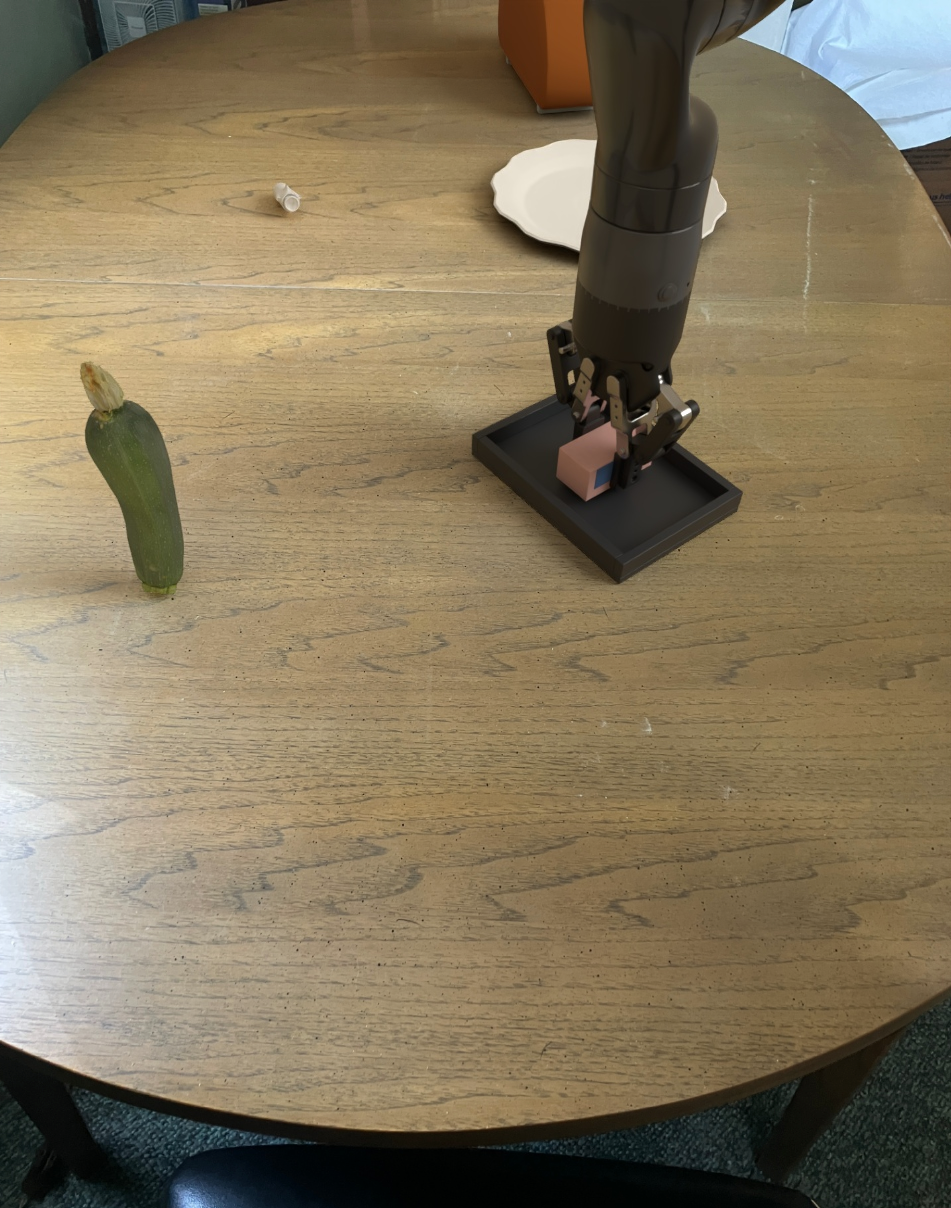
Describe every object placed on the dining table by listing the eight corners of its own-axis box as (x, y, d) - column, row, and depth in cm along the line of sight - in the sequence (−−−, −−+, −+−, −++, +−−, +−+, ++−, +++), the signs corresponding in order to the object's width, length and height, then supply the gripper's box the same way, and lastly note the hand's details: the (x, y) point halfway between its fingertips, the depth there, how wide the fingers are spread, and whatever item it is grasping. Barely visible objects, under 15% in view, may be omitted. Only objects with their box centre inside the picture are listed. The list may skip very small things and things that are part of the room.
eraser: (651, 465, 75) (658, 435, 73) (586, 502, 72) (590, 472, 70) (620, 441, 77) (625, 412, 75) (555, 476, 74) (558, 447, 72)
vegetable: (166, 557, 69) (86, 320, 54) (218, 574, 68) (151, 338, 53) (131, 600, 67) (36, 363, 51) (184, 618, 66) (104, 383, 50)
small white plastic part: (309, 195, 104) (305, 166, 102) (300, 222, 100) (296, 194, 98) (276, 193, 104) (272, 165, 102) (266, 221, 100) (262, 192, 98)
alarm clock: (611, 121, 117) (631, -36, 104) (541, 126, 116) (552, -31, 103) (557, 47, 132) (569, -98, 119) (495, 52, 130) (500, -95, 118)
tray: (737, 511, 74) (743, 491, 72) (619, 584, 69) (623, 565, 67) (586, 396, 82) (588, 376, 81) (471, 454, 77) (471, 434, 76)
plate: (584, 296, 92) (587, 279, 91) (447, 188, 105) (447, 172, 104) (769, 227, 101) (774, 210, 100) (622, 136, 115) (624, 120, 113)
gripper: (757, 302, 59) (702, 501, 72) (604, 210, 66) (579, 407, 80) (673, 344, 56) (631, 544, 69) (521, 243, 63) (509, 442, 77)
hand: (603, 470), depth 74 cm, fingers closed on eraser, 3 cm apart
